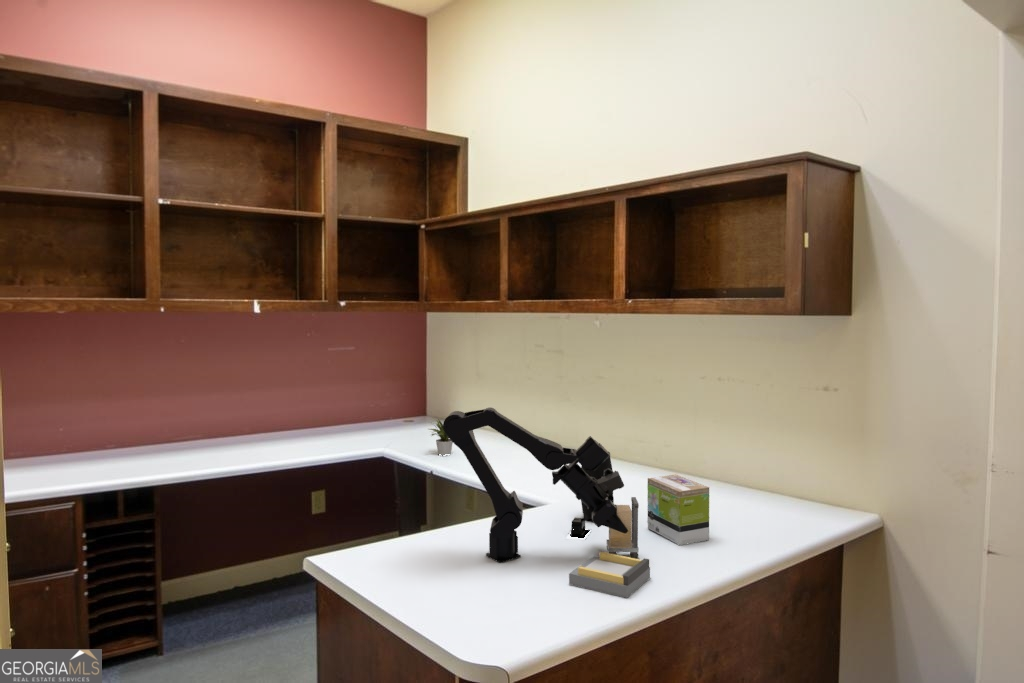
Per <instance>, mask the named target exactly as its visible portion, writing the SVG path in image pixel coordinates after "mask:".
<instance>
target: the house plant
mask: <svg viewBox="0 0 1024 683" xmlns="http://www.w3.org/2000/svg"><path fill="white" fill-rule="evenodd" d="M446 418H447V417H445V418H444V420H445V419H446ZM434 420H435V421H436V423H434V422H429V423H430V424H432V425H433V426H435V428H428V431H429V430H431V434H430V436H431V437H434V436H435V435H436V436H437V437H438V439H436V440H435V442H436V448H437V454H441V455H445V454H451V455H452V450H453V444H454V443H453V442H452V441H451V440H450V438H449V437H448V436H447V435H446V434H445V432H444V430H443V422H442V421H441V420H440V419H439V418H437V419H436V418H434Z"/></svg>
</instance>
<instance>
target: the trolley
mask: <svg viewBox="0 0 1024 683" xmlns="http://www.w3.org/2000/svg"><path fill="white" fill-rule="evenodd" d="M630 500H631V506H630V504H616V506H617V515H618V516H619V518H620V519H621V521H622V522H623V524H624V525H625V526H626V528H627V529H628V532H627V533H626V534H624V533H622V532H619V531H617V530H614V529H611V528H609V527H608V539H606V550H607V551H608V553H610V554H615V555H618V553H629V556H630V558H635V559H639V542H638V541H639V538H638V537H639V506H640V505H639V504H640V503H639V502H638V500H637V497H636V496H631V498H630Z"/></svg>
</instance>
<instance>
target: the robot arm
mask: <svg viewBox="0 0 1024 683" xmlns="http://www.w3.org/2000/svg"><path fill="white" fill-rule="evenodd" d="M445 418H446V419H445ZM445 418H444V420H443V422H442V424H443V430H444V432H445V434H446V435H447V436H448V437H449V439H450V440H451V441H452V442H453V443H452V444H454V445H455V446H456V447H458V448H459V449H460V450H461V451H462V453H463V454H464V456H465V458H466V460H467V462H468V463H469V465H470V466H471V468H472V469H473V470H474V471H473V472H475V475H476V476H477V478H478V479H479V481H480V484H482V486H483V489H485V491H486V492H487V494H488V496H489V498H490V500H491V503H492V506H493V509H494V512H495V516H494V517H493V518H492V521H491V525H490V529H489V534H488V535H489V536H488V537H489V539H488V540H489V542H488V545H489V546H488V548H489V550H488V551H489V552H487V553H485V556H486V557H488V558H490V559H491V558H492V559H491V560H493V559H494V561H496V562H498V563H505V562H509V561H511V560H515V559H518V558H519V559H520V558H521V556H522V555H521V554H520V553H518V552H519V537H518V536H517V535H518V534H517V531H516V529H518V528H519V527H520V526H521V524H522V521H523V514H524V512H523V511H524V509H523V505H524V504H523V502H522V501H520V499H519V498H518V494H517V493H516V491H515V490H513V491H512V492H511V493H510V492H509V491H508V490H507V489H506V488H505V487H504V486H503V484H502V482H501V481H500V479H499V477H498V475H497V473H496V472H495V471H494V468H493V466H492V465H491V463H490V462H489V460H488V459H487V457H486V456H485V454H484V451H483V450H482V449H481V447H480V445H479V444H478V442H477V440H476V436H475V433H474V430H477V429H480V428H482V427H483V428H484V427H487V426H488V427H490V428H491V429H493V430H495V431H496V432H498V433H499V434H501V435H503V436H504V437H506V438H508V439H509V440H511V441H512V442H514V443H515V444H517V445H518V446H520V447H522V448H524V449H525V450H527V451H528V452H529V453H530V454H531V455H532V456H533V457H534V458H535V459H536V460H537V461H538V462H539V463H540V464H541V465H542V466H543V467H545V468H546V469H547V470H550V471H552V472H551V475H552V485H556V484H557V483H558V482H560V481H561V482H562V483H563V484H564V485H565V487H567V488H568V489H569V490H570V491H571V492H572V493H573V494H574V495H575V498H576V499H577V500H578V501H580V502H581V501H582V502H583V503H584V504H585V505H586V506H587V508H588V510H589V511H590V512H592V511H593V510H594V509H595V510H594V511H593V512H592V519H591V520H592V523H593V524H594V525H595V526H596V527H597V528H601V526H603V527H607V528H608V529H609V528H611V529H614V530H617V531H619V532H622V533H624V534H626V533H627V532H628V529H627V528H626V526H625V525H624V524H623V522H622V521H621V519H620V518H619V516H618V515H617V506H616V505H617V504H615V502H614V500H615V499H614V494H613V495H610V496H609V495H608V494H607V493H609V494H610V493H611V492H612V491H613V492H614V491H616V490H620V489H622V488H624V487H625V484H624V481H623V480H622V477H621V475H620V473H619V471H618V470H613V469H612V470H613V471H612V470H611V469H610V468H608V469H606V470H604V477H603V476H602V477H601V478H600V479H598V480H596V479H595V478H594V477H592V476H591V477H590V476H589V475H588V474H587V473H586V472H585V471H584V470H583V469H582V468H581V466H583V467H584V468H585V469H586V470H587V471H589V470H590V471H591V470H593V471H595V470H596V469H597V468H598V467H599V466H600V465H601V464H602V463H603V462H604V461H605V460H606V459H607V458H608V457H609V456H610V457H611V453H610V454H609V453H608V452H609V451H608V450H607V449H606V448H605V447H604V446H603V445H602V444H601V443H599V442H598V441H597V440H596V439H594V438H593V437H592V436H591V435H590V436H588V437H587V438H586V439H585V440H584V443H582V444H581V445H580V446H579V447H578V448H577V449H576V448H569V447H563V446H562V445H561V443H558V442H555V441H554V440H550V439H548V438H545V437H542V436H538V435H536V434H534V433H533V432H531V431H530V430H527V429H526V428H525V427H523V426H521V425H520V424H518V423H516V422H515V421H513V420H512V419H510V418H508V417H506V416H505V415H504V414H502V413H500V412H499V411H497V410H496V408H493V407H486V408H483V409H478V410H471V411H467V412H464V411H460V410H455V411H452V412H450V413H449V414H448V415H447V416H446V417H445ZM578 463H579V464H578ZM556 470H557V471H556ZM608 496H609V497H608ZM607 497H608V498H607Z"/></svg>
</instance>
